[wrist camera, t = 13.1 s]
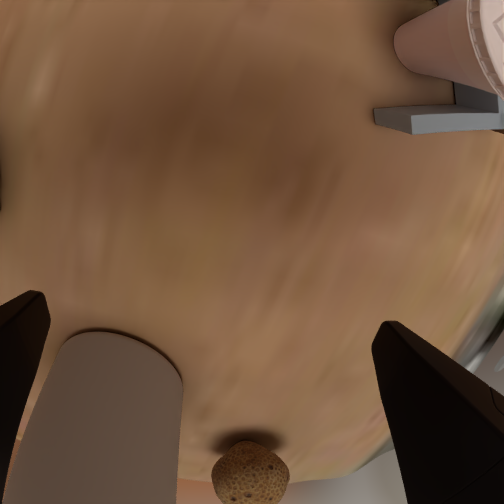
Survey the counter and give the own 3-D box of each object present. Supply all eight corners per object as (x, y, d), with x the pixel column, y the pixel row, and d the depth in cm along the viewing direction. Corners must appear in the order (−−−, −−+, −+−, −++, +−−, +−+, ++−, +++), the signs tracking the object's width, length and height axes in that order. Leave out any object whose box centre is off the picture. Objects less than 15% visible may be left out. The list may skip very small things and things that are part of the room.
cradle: (375, 124, 18) (412, 134, 14) (345, -22, 13) (375, -46, 9) (466, 117, 17) (508, 128, 13) (444, -10, 13) (484, -21, 9)
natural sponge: (299, 434, 34) (313, 505, 25) (259, 461, 37) (266, 523, 28) (234, 419, 31) (239, 501, 22) (199, 449, 34) (199, 517, 25)
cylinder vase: (131, 421, 31) (110, 618, 9) (41, 359, 25) (-27, 575, 3) (211, 386, 28) (220, 648, 6) (107, 303, 23) (23, 635, 1)
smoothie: (373, -5, 13) (545, -66, 1) (450, 20, 14) (615, 18, 2) (374, 84, 16) (574, 111, 4) (451, 100, 17) (622, 152, 5)
